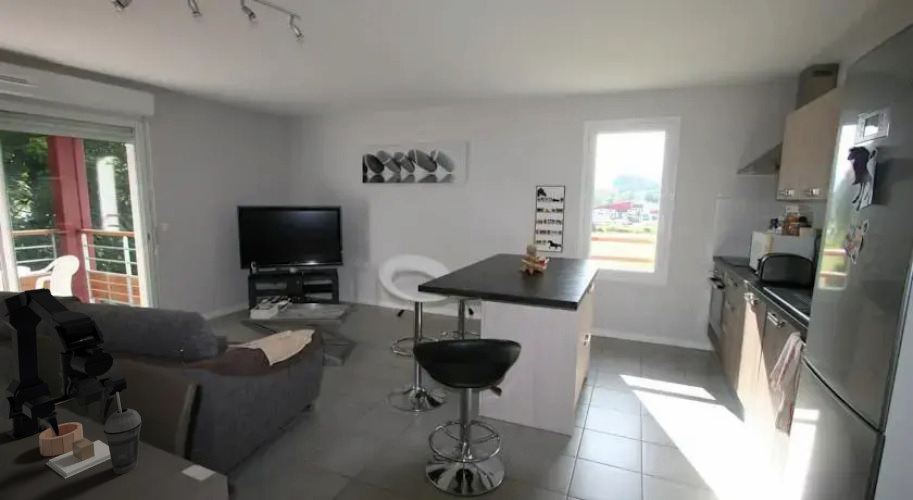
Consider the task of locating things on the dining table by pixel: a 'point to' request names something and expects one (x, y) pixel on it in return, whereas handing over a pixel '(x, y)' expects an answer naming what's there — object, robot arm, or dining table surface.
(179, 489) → the dining table surface
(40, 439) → the segmented pink ring
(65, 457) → the cover sheet
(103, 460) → the mat
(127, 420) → the beverage cup
